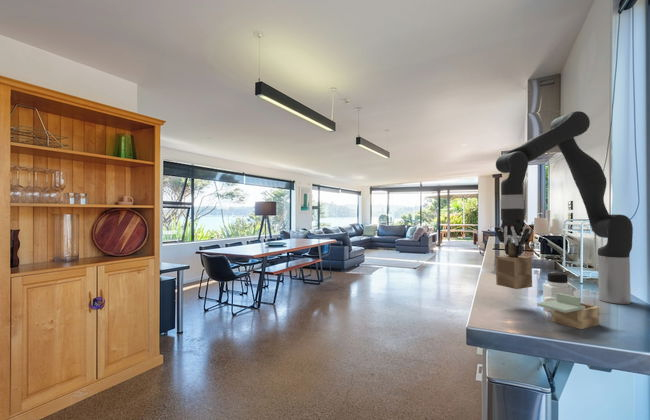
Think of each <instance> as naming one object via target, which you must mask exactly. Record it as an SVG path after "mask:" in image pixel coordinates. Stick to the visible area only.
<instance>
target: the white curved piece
mask: <svg viewBox="0 0 650 420" xmlns="http://www.w3.org/2000/svg"><path fill="white" fill-rule="evenodd" d="M542 298H543V299H542V302H547V301H553V300H557V298H556V297H549V296H543V295H542ZM542 308H543V311H544V312H548V313H552V309H549V308H545V307H542Z"/></svg>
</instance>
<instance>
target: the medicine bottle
mask: <svg viewBox="0 0 650 420" xmlns="http://www.w3.org/2000/svg"><path fill="white" fill-rule="evenodd" d="M568 282H569V281H568V274H567V273H565V272H560V271H551V272H548V273H547V283H542V297H543V296H549V297H556V293H562V294H566V295H571V296H574V288H573V287H571V286H568ZM556 298H557V297H556Z"/></svg>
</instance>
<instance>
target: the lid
mask: <svg viewBox="0 0 650 420" xmlns="http://www.w3.org/2000/svg"><path fill="white" fill-rule="evenodd" d="M556 297H557V300H553V301H547V302H543V301H542V302H537V304H536V306H538V307H540V308H543V307H545V308H549V309H553V310H557V311H561V312H564V313H567V312H572V311H577V310H581V309H585V306H582V305H581V303H582V302H581V300H582V299H581V296H577V295H576V296H575V295H573V296H571V295H566V294H562V293H556Z"/></svg>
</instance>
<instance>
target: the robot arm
mask: <svg viewBox="0 0 650 420" xmlns="http://www.w3.org/2000/svg"><path fill="white" fill-rule="evenodd" d="M590 125H591V121H590V118H589V116H588V115H587V114H586V113H585V112H583V111H580V110H579V111H578V110H575V111H572V112H570V113H567V114H564V115H562V116H559V117H556V118H555V119H553V120H552V121H551V123H550V125H549V128H550V129H549V130H547V131H545V132H543V133H540V134H538V135H536V136H535V137H532V138H531V139H528V140H527V141H526V142H524V143H522V144H521V145H520V146H518V147H515V148H513V149H511V150H509V151H507V152H505V153H503V154H500V155H499V157H498V158H496V161H495V167H496V170H497V171H498V172H500V173H503V174H508V175H507V176H508V177H507V178H505V179H503V180H502V181H501V183H500V195H501V197H500V221H501V225H499V226H496V227H494V231H495V233H496V236H497V238H498V240H499V243H502V244H504V253H505V255H509V252H508V243H512V240H514V243H515V245H516V246H515V256H522V255H523V246H524V245H527V244H528V242H529V240H530V238H531V235H532V233H533V230H534V229H533V228H531V227H527V226H526V224H525V217H526V215H525V214H526V213H525V212H526V211H525V197H524V181H525V178H526V175H527V170H528V167H529V162H532V161H534V160H536V159H538V158H539V157H541V156H542V155H544V154H545V153H547V152H548V151H550V150H553V148H555V147H558V149H559V151H561V154H562V155H563V158H564V160H565V162H566V164H567V167H568V168H569V170H570V173H571V176H572V178H573V181H574V183H575V186H576V187H577V189H578V192H579V195H580V197H581V200H582V203H583V204H584V207H585V211H586V215H587V217H588V222H589V225H590V229H591V230H592V232H593V234H595V235H596V236H597V237H599V238H606V239H607V240H606V241H607V242H606V244H605V245H603V246H601V247H598V248H597V275H598V277H597V279H598V280H597V281H598V283H597V284H598V286H597V287H598V300H600V301H602V302H606V303H611V304H617V305H618V304H620V305H628V304H631V303H632V298H631V297H632V293H631V292H632V289H631V264H630V263H631V261H630V260H631V258H630V255H631V251H632V247H633V235H634V234H633V233H634V232H633V231H634V229H633V228H634V227H633V223H632V221H631V219H630V218H629V217H628V216H627V215H625V214H614V213H613V214H610V213H609V212H608V210H607V206H606V204H605V197H604V196H605V194H606V189H607V185H608V184H607V178H606V176H605V173H604V170H603V168H602V165H601V164H600V163H599V162H598V161H597V160H596V159H594V158H593V157H592V156H591V155H589V154H587V153H586V152H585V151H584V150H583V149H581V148H580V147H579V145H578V144H577V142H576V140H575V138H576V137H578V136H582V135H583V134H585V133H586V132H587V131H588V129H589V127H590Z"/></svg>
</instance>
